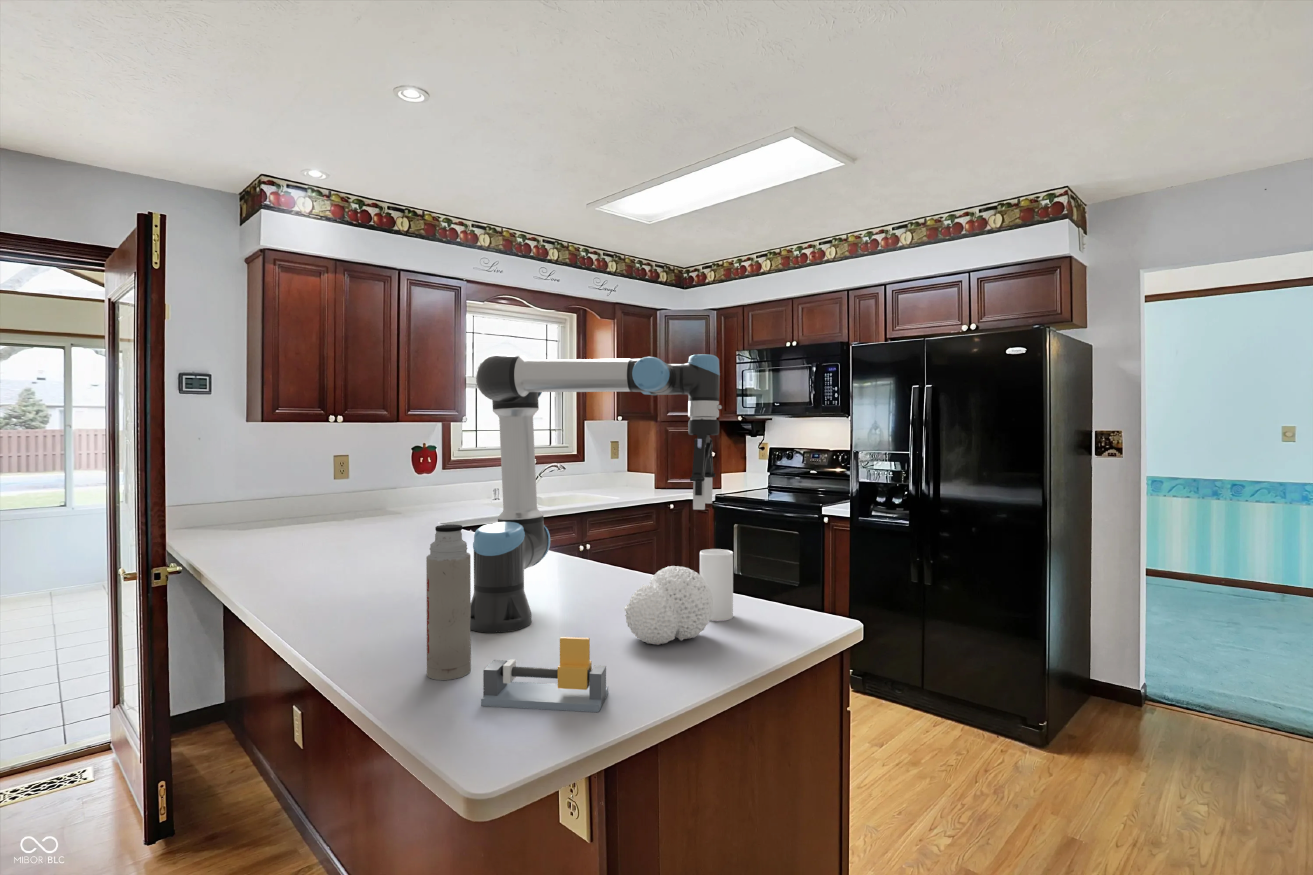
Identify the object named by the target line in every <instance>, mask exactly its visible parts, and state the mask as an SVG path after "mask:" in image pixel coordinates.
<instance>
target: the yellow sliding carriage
mask: <svg viewBox="0 0 1313 875" xmlns="http://www.w3.org/2000/svg"><path fill="white" fill-rule="evenodd" d="M590 640H591V638H590V637H579V636H578V637H576V636H573V637H572V636H560V637H559V665H557V669H558V679H557V684H558V688H561V689H582V690H587V689H588V687H589V680H588V670H592V669H593V667H592V660H591V659H590V658H591V657H590V655H591V653H590V652H591V649H590V648H591V646H590V644H591V643H590Z"/></svg>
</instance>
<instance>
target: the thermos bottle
mask: <svg viewBox="0 0 1313 875" xmlns="http://www.w3.org/2000/svg"><path fill="white" fill-rule="evenodd" d="M462 530H463V525H462V524H441V525H437V526H435V534H434V541H432V542H431V543H430V547H429V551H430V554H428V555H426V558H425V560H426V563H425V564H426V567H425V568H426V569H425V570H426V677H427V678H429V679H432V680H436V681H447V680H451V681H452V680H455V679H456V680H457V679H460V678H463V677H465V676H467V675H468V674H470V673H471V669H472V668H471V666H472V663H471V661H472V659H471V658H472V657H471V655H472V653H471V652H472V650H471V649H472V647H471V645H472V642H471V641H472V639H471V630H470V618H471V600H472V598H471V597H472V596H471V595H472V594H471V593H472V591H471V586H472V584H471V577H472V576H471V574H472V573H471V572H472V571H471V569H472V568H471V562H472V561H471V553H469V552H467V551H468V547H467V546H468V543H467V542H466V541H465V540H463V533H462Z"/></svg>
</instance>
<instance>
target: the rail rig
mask: <svg viewBox="0 0 1313 875" xmlns="http://www.w3.org/2000/svg"><path fill="white" fill-rule="evenodd" d="M482 673H483V675H482V676H483V678H482V679H483V685H482V686H483V688H482V690H483V691H482V692H483V696H482V697H481V698H480V706H481V707H495V708H496V707H498V708H499V707H500V708H514V709H532V710H533V709H534V710H549V711H550V710H551V711H553V710H554V711H555V710H556V711H569V712H570V711H572V712H588V713H589V712H590V713H591V712H592V713H599V712H601V708H602V706H603V704H604V703H605V700H606V698H607V697H608V695H609V685H607V665H599V664H598V665H597V664H596V665H594V666H593V667H592V670H588V680H589V687H588V689H587V690H582V689H561V688H558V683H551V682H550V683H547V682H529V681H528V682H525V681H514V680H515V678H516V677H517V678H519V677H520V678H534V679H535V678H536V679H537V678H538V679H557V680H558V668H555V667H554V668H551V667H550V668H549V667H534V666H533V667H531V666H530V667H529V666H527V667H526V666H517V660H516V659H508V660H507V659H493V660H492V661H491V662H490V663H489V664H488V665H487V666H486V667H484V668H483V671H482Z"/></svg>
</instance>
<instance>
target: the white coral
mask: <svg viewBox="0 0 1313 875" xmlns="http://www.w3.org/2000/svg"><path fill="white" fill-rule="evenodd" d="M623 608H624V611H625V613H626V614H625V615H624V616H625V622H626V624H627V628H629V629H630V631H631V633H632V634H633V635H634V636H635V637H636V639H639V640H640V641H642V642H643V643H644V642H645V644H648V645H649V644H650V645H651V644H652V645H657V646H659V645H661V644H662V645H665V644H667V643H668V642H670V641H673V640H674V639H675V638H676V639H677V638H678V640H679V641H683V640H687V639H691V638H693V639H694V638H696V637H697V636H699V635H700V634H701V632H703V631H704V630H705V629H706V627H707V626H708V625H709V622H710V618H711V617H712V611H713V597H712V594H711V590H710V589H709V586H708V585H707V583H706V581H705V580H704V579H703V578H702V577H701V576H700V573H698V572H696V571H695V570H693V569H690V567H685V566H679V565H677V566H675V565H671V566H669V565H668V566H667V567H666V566H665V567H664V568H661V569H660V570H658V571H657V572H655V574H653V576H652V578H650V581H649V584H648V585H646V584H643V585H642V586H640V587H639V588H638V589H636V590H635V592H634V593H633V594H632V595H631V597H630V600H629V603H627V604H626V606H625V607H623Z"/></svg>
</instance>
